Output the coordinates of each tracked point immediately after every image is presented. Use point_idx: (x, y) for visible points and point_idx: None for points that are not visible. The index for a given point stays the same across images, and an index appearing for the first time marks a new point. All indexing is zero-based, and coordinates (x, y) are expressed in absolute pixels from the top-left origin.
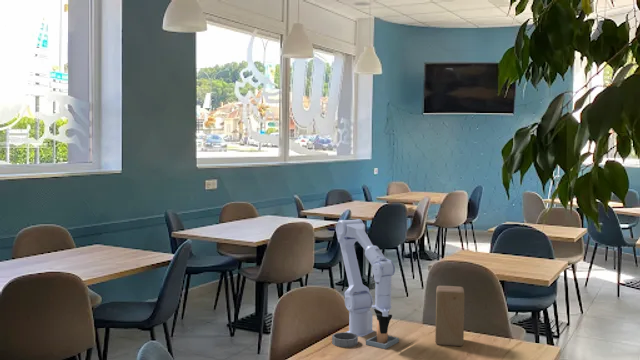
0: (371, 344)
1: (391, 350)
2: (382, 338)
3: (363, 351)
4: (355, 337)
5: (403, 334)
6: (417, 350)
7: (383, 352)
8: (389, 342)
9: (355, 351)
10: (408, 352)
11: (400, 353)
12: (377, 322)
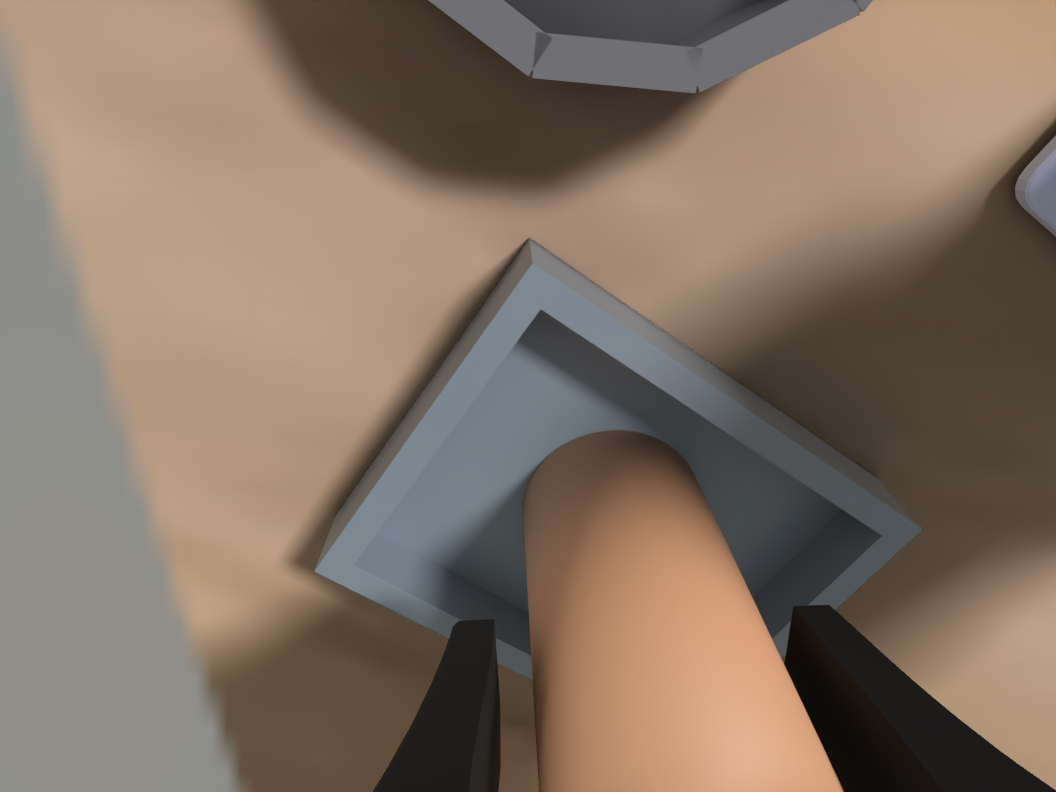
0: (462, 347)
1: (350, 591)
2: (527, 570)
3: (215, 177)
4: (714, 30)
5: (1031, 758)
6: None
7: (237, 488)
8: (445, 633)
9: (179, 11)
10: (304, 754)
11: (244, 677)
12: (642, 738)
